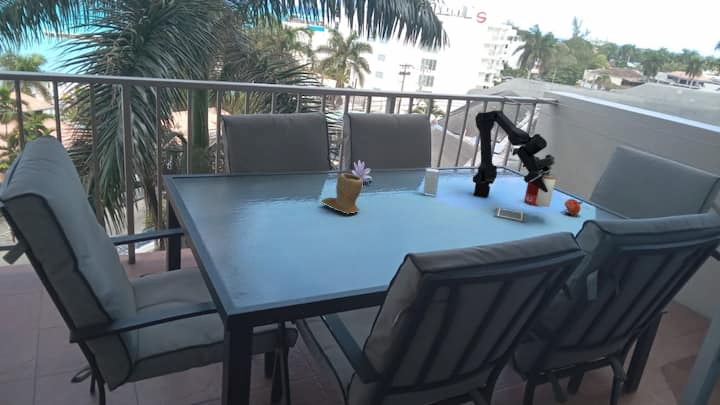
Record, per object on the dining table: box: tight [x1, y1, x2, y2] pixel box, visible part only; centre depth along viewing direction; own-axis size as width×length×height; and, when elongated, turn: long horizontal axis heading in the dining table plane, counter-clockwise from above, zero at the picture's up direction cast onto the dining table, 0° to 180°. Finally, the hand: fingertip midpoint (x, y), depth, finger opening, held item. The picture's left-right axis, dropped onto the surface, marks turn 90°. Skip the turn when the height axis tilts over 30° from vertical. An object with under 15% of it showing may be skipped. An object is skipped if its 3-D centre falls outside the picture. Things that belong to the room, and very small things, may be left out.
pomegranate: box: [560, 198, 583, 216], centre depth 214 cm, size 7×7×10 cm
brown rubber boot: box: [320, 172, 364, 213], centre depth 194 cm, size 15×12×15 cm
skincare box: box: [423, 168, 440, 196], centre depth 223 cm, size 6×4×12 cm
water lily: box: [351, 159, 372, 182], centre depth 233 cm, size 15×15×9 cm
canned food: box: [524, 180, 540, 207], centre depth 225 cm, size 8×8×11 cm
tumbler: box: [535, 173, 557, 208], centre depth 201 cm, size 6×6×13 cm
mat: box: [493, 207, 527, 224], centre depth 207 cm, size 13×11×1 cm
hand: (549, 190), depth 200 cm, fingers closed on tumbler, 6 cm apart
